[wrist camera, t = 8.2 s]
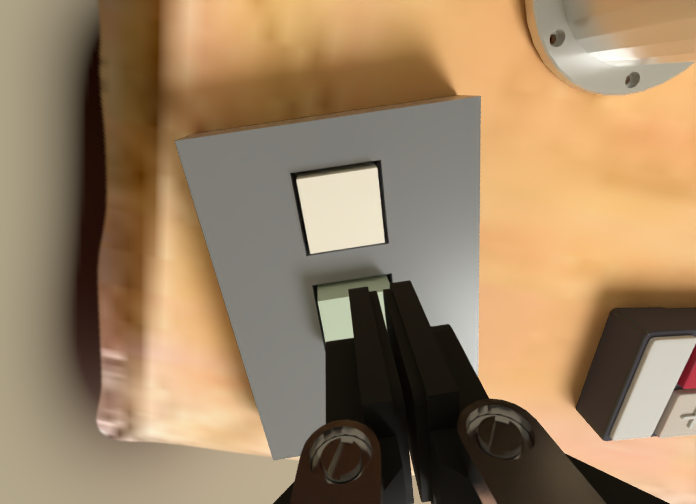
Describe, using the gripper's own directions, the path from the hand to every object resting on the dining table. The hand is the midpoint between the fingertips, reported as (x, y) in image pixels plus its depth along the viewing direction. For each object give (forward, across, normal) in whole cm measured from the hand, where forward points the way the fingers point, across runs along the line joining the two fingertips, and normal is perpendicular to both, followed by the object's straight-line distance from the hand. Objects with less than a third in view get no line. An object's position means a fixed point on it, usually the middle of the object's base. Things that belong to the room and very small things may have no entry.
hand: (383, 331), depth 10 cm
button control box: (+17, -26, +20) cm, 37 cm away
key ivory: (+14, +1, 0) cm, 14 cm away
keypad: (+16, +1, +7) cm, 17 cm away
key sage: (+13, +1, +7) cm, 15 cm away
